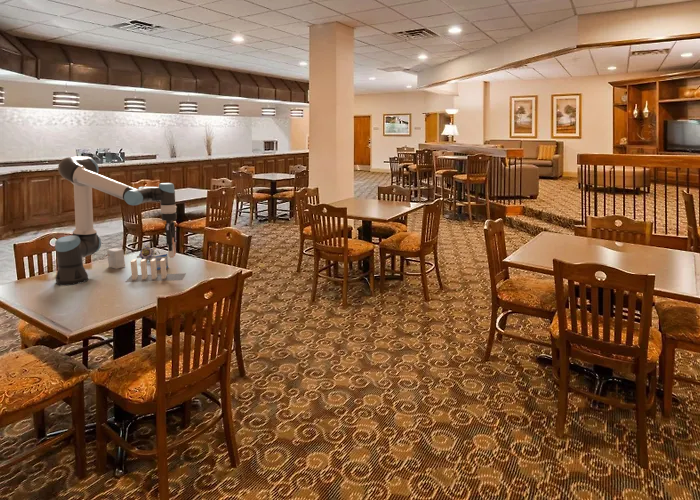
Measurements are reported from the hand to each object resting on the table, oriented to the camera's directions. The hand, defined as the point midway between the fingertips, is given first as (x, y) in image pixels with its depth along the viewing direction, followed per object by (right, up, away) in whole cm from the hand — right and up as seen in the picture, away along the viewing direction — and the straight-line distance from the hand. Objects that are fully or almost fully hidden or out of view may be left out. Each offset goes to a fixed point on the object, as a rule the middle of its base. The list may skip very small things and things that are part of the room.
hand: (172, 255), depth 273 cm
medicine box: (-14, -8, +21) cm, 26 cm away
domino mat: (-9, -13, +2) cm, 16 cm away
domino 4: (-5, -12, +2) cm, 13 cm away
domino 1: (-20, -12, 0) cm, 24 cm away
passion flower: (-27, -4, +37) cm, 46 cm away
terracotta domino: (0, -1, 0) cm, 1 cm away
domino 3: (-10, -12, +1) cm, 16 cm away
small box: (-41, -7, +24) cm, 48 cm away
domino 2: (-15, -12, +1) cm, 20 cm away
